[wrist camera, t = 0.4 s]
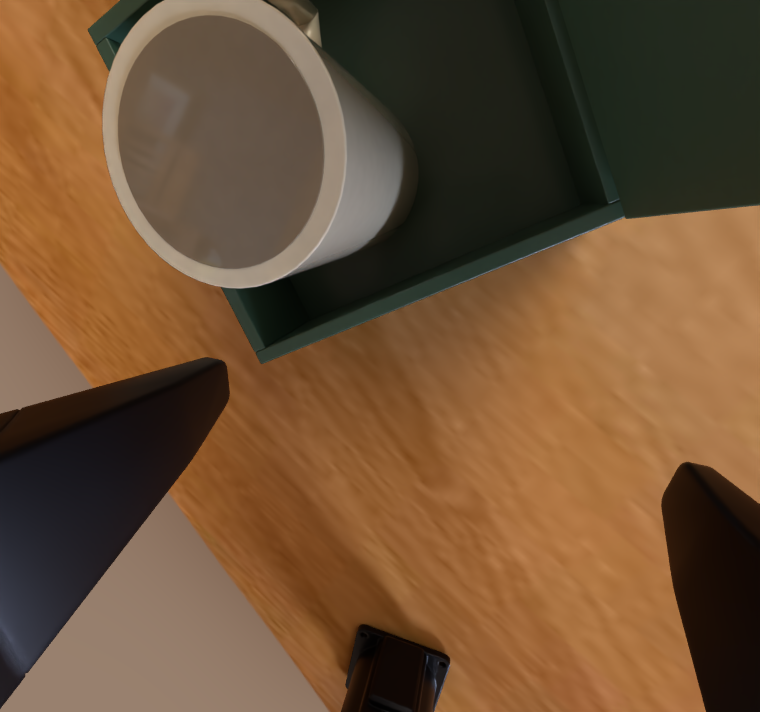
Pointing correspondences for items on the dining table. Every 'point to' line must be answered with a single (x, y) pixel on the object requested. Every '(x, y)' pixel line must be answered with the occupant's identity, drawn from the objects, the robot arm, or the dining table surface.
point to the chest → (442, 154)
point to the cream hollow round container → (250, 143)
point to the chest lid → (673, 99)
